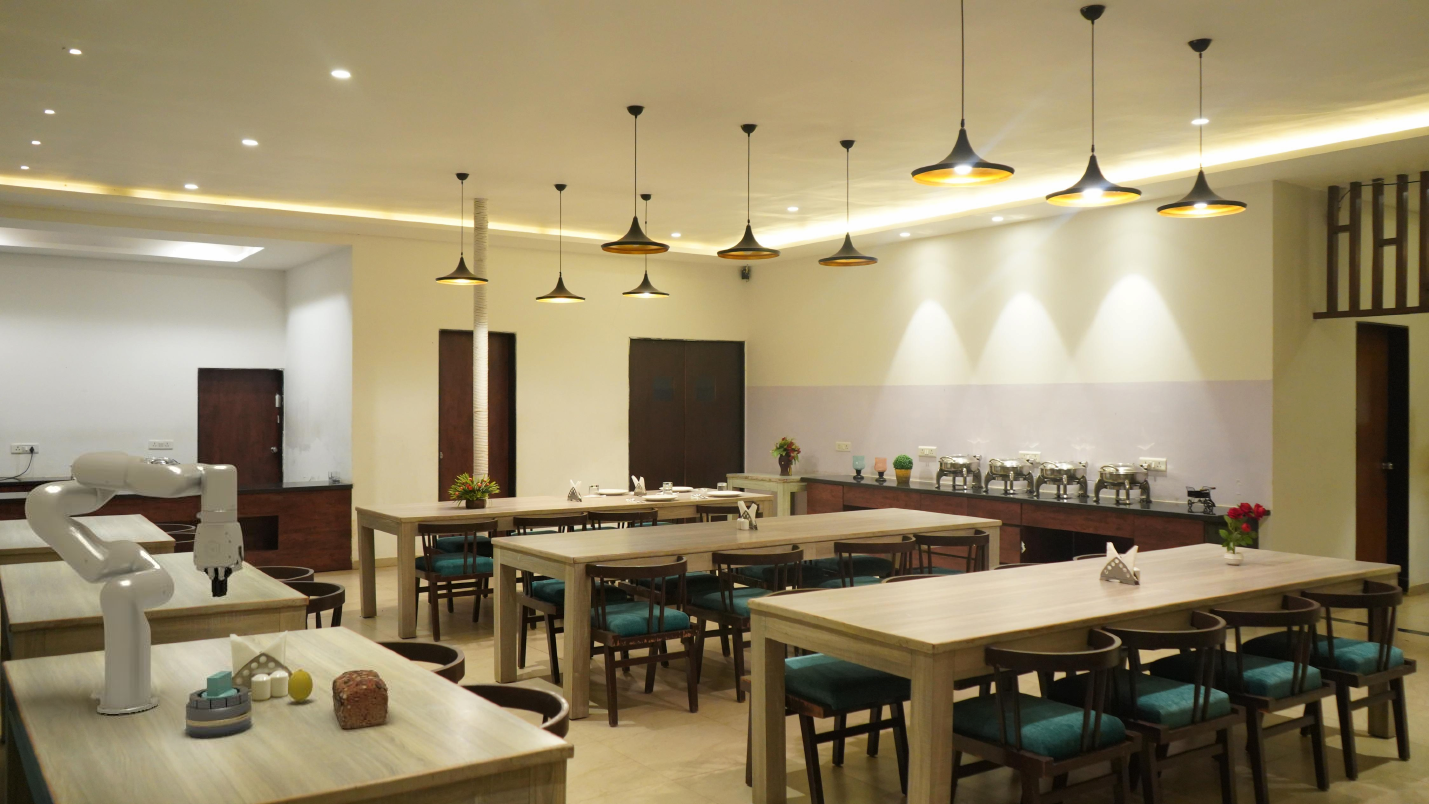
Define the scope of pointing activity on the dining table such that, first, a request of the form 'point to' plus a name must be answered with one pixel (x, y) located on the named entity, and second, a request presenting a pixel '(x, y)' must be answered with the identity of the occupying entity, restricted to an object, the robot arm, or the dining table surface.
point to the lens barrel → (218, 714)
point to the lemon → (300, 685)
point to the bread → (360, 699)
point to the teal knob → (219, 685)
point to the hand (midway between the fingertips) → (219, 595)
